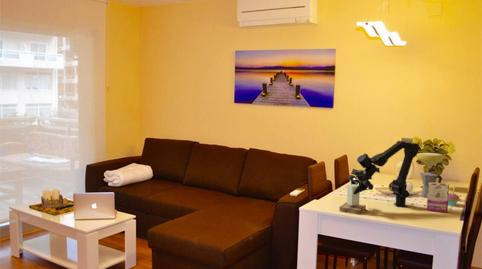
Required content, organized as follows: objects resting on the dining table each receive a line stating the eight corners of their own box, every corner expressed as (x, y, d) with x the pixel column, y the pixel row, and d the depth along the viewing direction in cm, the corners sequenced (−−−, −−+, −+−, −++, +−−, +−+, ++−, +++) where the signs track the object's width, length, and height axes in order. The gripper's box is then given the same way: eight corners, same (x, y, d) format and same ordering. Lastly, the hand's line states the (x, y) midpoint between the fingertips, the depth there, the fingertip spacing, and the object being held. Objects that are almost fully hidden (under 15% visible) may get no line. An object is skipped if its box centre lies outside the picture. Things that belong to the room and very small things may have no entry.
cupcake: (462, 206, 270) (463, 187, 269) (449, 206, 269) (450, 187, 267) (453, 202, 278) (454, 183, 277) (440, 203, 277) (441, 184, 276)
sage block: (346, 203, 261) (347, 184, 260) (354, 202, 262) (354, 184, 261) (351, 205, 256) (352, 186, 255) (359, 204, 258) (359, 186, 256)
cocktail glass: (447, 188, 317) (449, 154, 314) (432, 191, 306) (434, 156, 304) (424, 184, 331) (426, 150, 329) (409, 187, 321) (411, 152, 319)
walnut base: (339, 211, 258) (339, 207, 257) (345, 206, 268) (345, 202, 268) (359, 214, 252) (360, 210, 251) (365, 209, 262) (365, 205, 261)
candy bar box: (447, 210, 261) (448, 183, 259) (447, 212, 256) (449, 184, 254) (426, 208, 265) (427, 181, 263) (426, 210, 260) (428, 183, 258)
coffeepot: (415, 195, 296) (416, 168, 294) (423, 193, 302) (425, 167, 300) (436, 200, 284) (437, 172, 282) (444, 198, 289) (446, 171, 287)
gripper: (351, 161, 267) (334, 180, 264) (369, 166, 249) (352, 187, 247) (361, 173, 270) (345, 192, 268) (381, 179, 253) (363, 200, 250)
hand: (351, 193), depth 258 cm, fingers closed on sage block, 5 cm apart
